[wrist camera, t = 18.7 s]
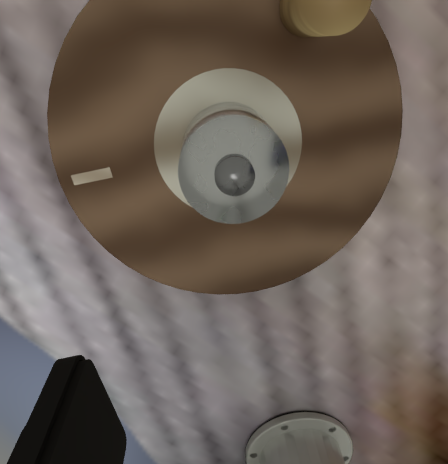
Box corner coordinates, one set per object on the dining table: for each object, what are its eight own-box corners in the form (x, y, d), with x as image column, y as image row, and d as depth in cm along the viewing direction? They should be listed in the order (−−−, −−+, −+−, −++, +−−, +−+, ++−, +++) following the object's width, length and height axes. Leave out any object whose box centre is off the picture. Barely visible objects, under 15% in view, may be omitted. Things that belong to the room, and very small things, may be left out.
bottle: (279, 183, 31) (297, 217, 25) (193, 200, 31) (191, 238, 25) (266, 92, 28) (284, 106, 22) (172, 112, 28) (164, 131, 22)
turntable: (396, 255, 36) (443, 306, 29) (116, 310, 37) (96, 373, 30) (393, -104, 25) (468, -161, 18) (-9, -12, 26) (-87, -33, 19)
